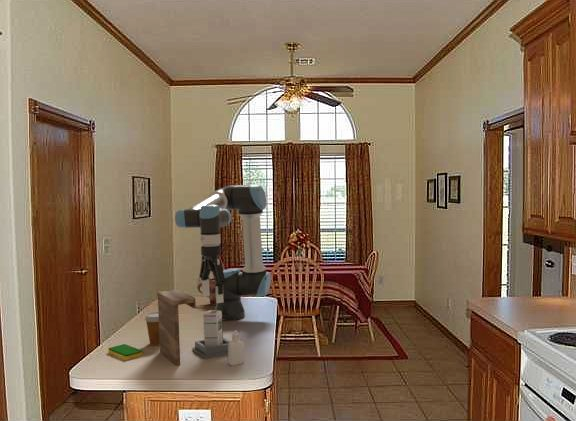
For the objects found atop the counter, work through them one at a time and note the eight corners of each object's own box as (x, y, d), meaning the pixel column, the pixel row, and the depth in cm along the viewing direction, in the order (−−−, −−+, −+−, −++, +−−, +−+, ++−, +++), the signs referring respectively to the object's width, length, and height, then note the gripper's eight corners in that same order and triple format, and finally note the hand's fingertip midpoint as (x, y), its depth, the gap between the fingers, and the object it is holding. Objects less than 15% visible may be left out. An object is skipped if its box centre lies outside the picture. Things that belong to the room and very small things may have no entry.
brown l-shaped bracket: (179, 348, 212) (177, 289, 211) (197, 361, 195) (195, 298, 194) (159, 351, 208) (157, 292, 207) (176, 365, 191) (174, 300, 190)
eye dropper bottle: (228, 361, 194) (227, 329, 193) (244, 360, 194) (243, 328, 194) (228, 365, 189) (227, 332, 189) (244, 364, 190) (243, 331, 189)
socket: (222, 344, 216) (222, 335, 215) (236, 352, 204) (236, 343, 204) (192, 349, 209) (192, 341, 209) (204, 358, 198) (204, 349, 198)
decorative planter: (195, 306, 285) (194, 281, 284) (199, 301, 297) (198, 277, 297) (232, 305, 285) (232, 280, 284) (235, 300, 297) (234, 276, 296)
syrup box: (219, 351, 204) (217, 313, 203) (204, 350, 205) (203, 313, 204) (223, 346, 209) (222, 310, 208) (209, 346, 210) (207, 309, 210)
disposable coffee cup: (173, 340, 223) (172, 312, 222) (161, 347, 214) (160, 317, 213) (154, 339, 226) (153, 311, 225) (141, 345, 217) (140, 316, 216)
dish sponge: (124, 349, 213) (124, 343, 213) (142, 356, 204) (142, 350, 204) (108, 353, 208) (107, 347, 208) (125, 361, 199) (125, 355, 199)
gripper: (190, 243, 214) (192, 295, 215) (214, 249, 192) (216, 307, 193) (207, 241, 217) (209, 292, 219) (233, 247, 196) (235, 304, 197)
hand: (212, 299), depth 206 cm, fingers open, 13 cm apart
